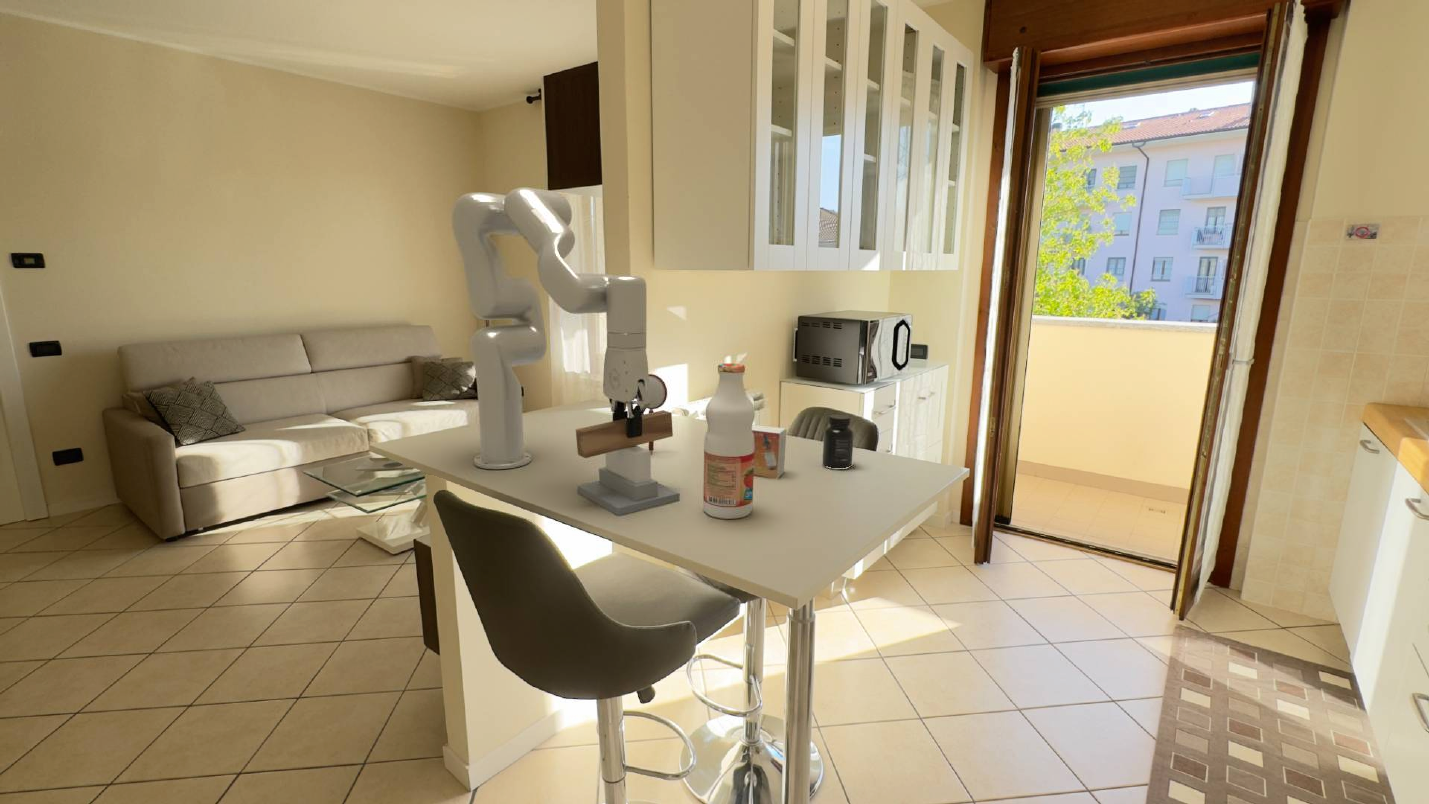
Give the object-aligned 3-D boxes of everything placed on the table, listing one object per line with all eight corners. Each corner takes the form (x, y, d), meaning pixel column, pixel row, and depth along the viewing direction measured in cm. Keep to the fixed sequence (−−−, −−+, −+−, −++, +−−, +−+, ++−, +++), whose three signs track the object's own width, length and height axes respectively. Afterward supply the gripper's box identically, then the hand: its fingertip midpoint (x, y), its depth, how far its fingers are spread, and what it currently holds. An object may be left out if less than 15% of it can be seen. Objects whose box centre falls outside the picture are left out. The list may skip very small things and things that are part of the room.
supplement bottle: (855, 465, 154) (859, 416, 151) (845, 472, 148) (848, 421, 146) (828, 460, 157) (831, 412, 155) (817, 467, 152) (820, 417, 149)
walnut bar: (577, 454, 122) (575, 429, 121) (664, 433, 134) (663, 410, 133) (585, 458, 120) (583, 432, 119) (672, 436, 132) (671, 412, 131)
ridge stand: (577, 492, 131) (576, 442, 129) (635, 479, 140) (635, 432, 138) (618, 515, 119) (617, 461, 117) (679, 500, 128) (680, 449, 126)
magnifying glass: (668, 455, 159) (668, 375, 155) (664, 457, 157) (665, 376, 153) (637, 450, 162) (637, 372, 158) (634, 452, 161) (634, 373, 157)
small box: (743, 474, 145) (744, 429, 143) (751, 467, 150) (753, 423, 148) (777, 479, 142) (779, 433, 140) (784, 472, 147) (786, 427, 145)
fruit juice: (698, 503, 126) (700, 361, 120) (744, 501, 128) (749, 361, 123) (708, 521, 117) (711, 369, 111) (758, 518, 119) (763, 368, 114)
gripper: (587, 338, 127) (589, 428, 131) (633, 347, 114) (634, 446, 118) (620, 336, 132) (621, 423, 135) (668, 344, 119) (667, 440, 123)
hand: (627, 433), depth 127 cm, fingers open, 4 cm apart
